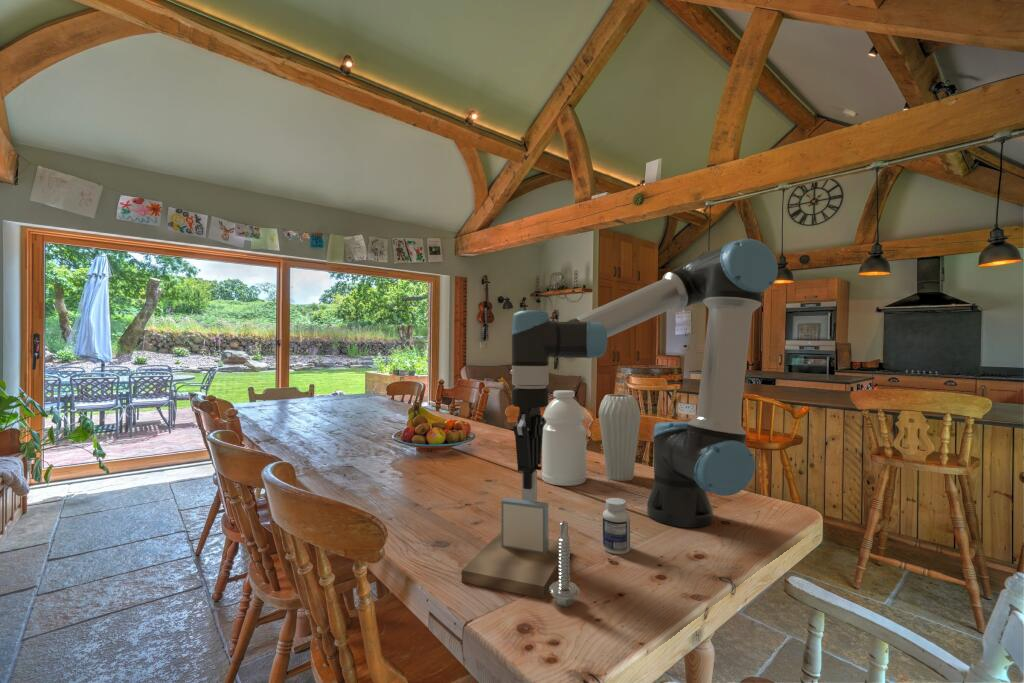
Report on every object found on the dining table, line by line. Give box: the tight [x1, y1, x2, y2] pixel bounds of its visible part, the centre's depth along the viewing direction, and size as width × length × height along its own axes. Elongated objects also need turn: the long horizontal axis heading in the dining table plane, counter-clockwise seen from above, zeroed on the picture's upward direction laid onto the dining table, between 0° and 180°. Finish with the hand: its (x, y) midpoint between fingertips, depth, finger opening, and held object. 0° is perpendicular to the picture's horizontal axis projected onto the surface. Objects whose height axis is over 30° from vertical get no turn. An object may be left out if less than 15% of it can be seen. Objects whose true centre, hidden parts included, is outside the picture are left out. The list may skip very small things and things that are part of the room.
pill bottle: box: [602, 497, 631, 555], centre depth 91 cm, size 5×5×10 cm
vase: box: [598, 393, 642, 482], centre depth 143 cm, size 13×13×26 cm
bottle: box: [541, 389, 587, 487], centre depth 140 cm, size 14×14×28 cm
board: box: [461, 531, 571, 600], centre depth 83 cm, size 15×18×2 cm
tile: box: [500, 497, 550, 554], centre depth 86 cm, size 9×2×9 cm, turn 69°
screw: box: [548, 520, 580, 608], centre depth 71 cm, size 13×5×5 cm
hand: (529, 503), depth 90 cm, fingers closed
